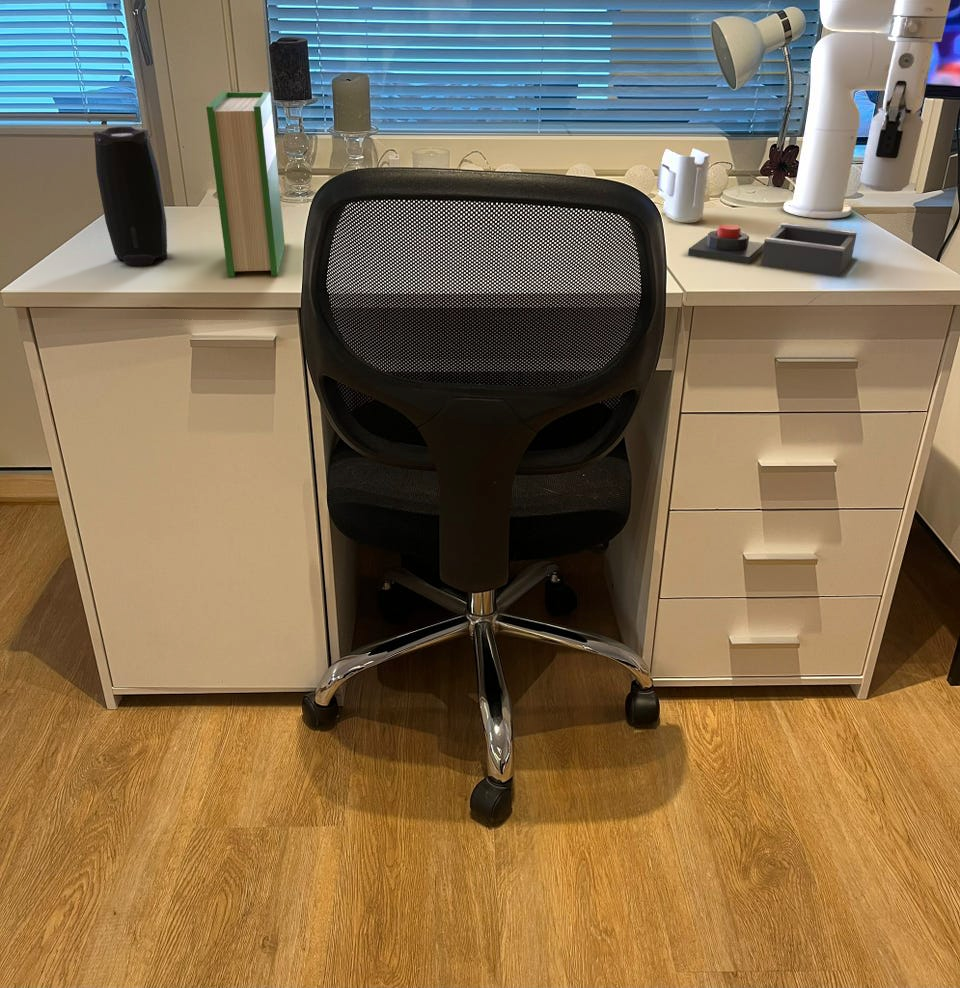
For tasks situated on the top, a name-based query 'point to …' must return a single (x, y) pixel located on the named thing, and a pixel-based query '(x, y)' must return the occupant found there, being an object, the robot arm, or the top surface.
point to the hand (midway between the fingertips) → (890, 152)
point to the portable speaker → (131, 195)
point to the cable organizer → (683, 184)
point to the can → (889, 170)
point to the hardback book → (247, 180)
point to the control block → (726, 248)
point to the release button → (729, 231)
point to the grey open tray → (809, 249)
